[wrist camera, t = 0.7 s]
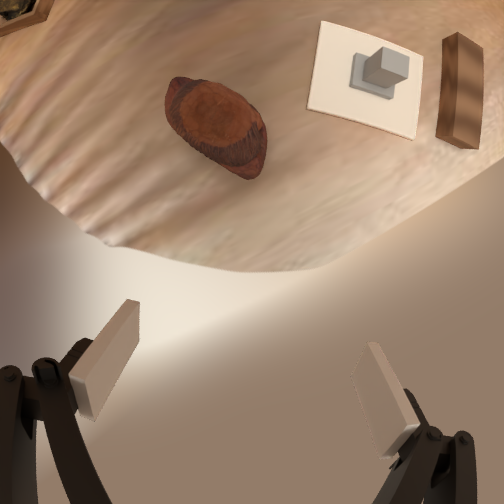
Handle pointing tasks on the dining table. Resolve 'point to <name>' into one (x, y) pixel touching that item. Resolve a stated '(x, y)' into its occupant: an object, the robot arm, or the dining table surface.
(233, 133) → the wooden figurine
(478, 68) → the bar
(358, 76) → the fulcrum
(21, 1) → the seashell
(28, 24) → the wooden tray
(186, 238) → the dining table surface
